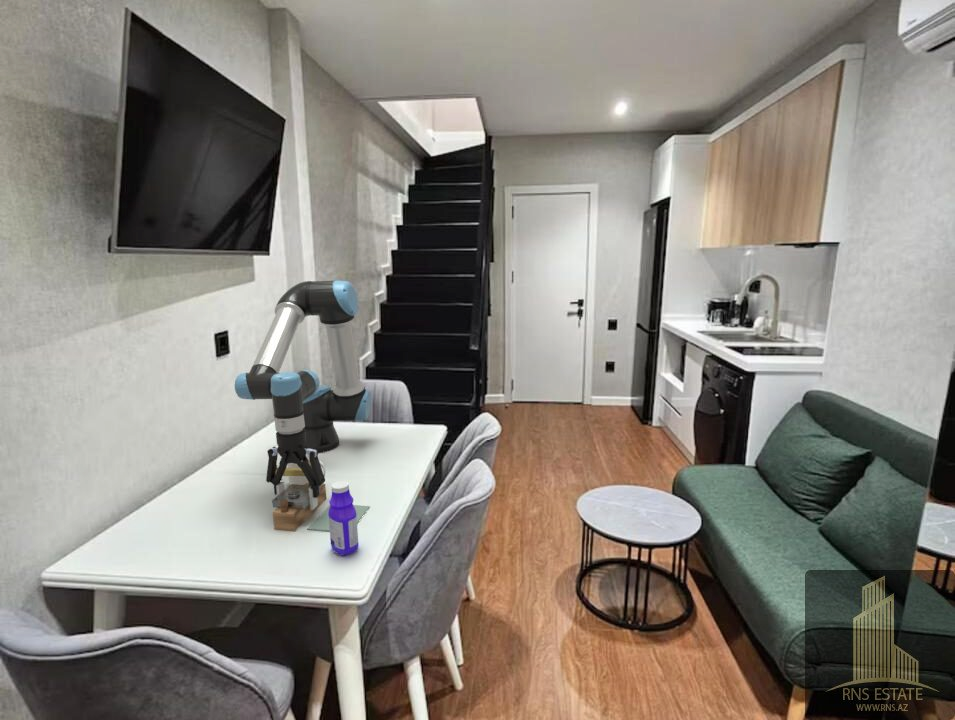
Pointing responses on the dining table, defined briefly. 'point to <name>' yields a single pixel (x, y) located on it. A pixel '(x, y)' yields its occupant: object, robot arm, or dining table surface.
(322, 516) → the mat
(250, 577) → the dining table surface
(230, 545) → the dining table surface
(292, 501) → the grey knob plate
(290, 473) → the lever
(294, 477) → the mug
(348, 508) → the bottle
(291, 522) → the plane body
